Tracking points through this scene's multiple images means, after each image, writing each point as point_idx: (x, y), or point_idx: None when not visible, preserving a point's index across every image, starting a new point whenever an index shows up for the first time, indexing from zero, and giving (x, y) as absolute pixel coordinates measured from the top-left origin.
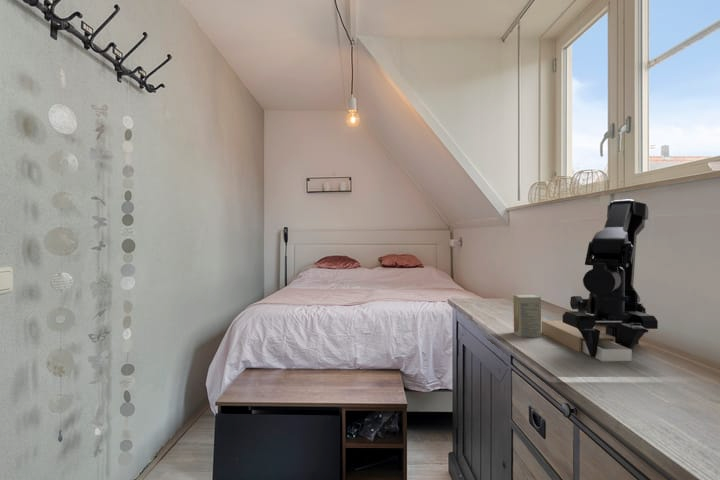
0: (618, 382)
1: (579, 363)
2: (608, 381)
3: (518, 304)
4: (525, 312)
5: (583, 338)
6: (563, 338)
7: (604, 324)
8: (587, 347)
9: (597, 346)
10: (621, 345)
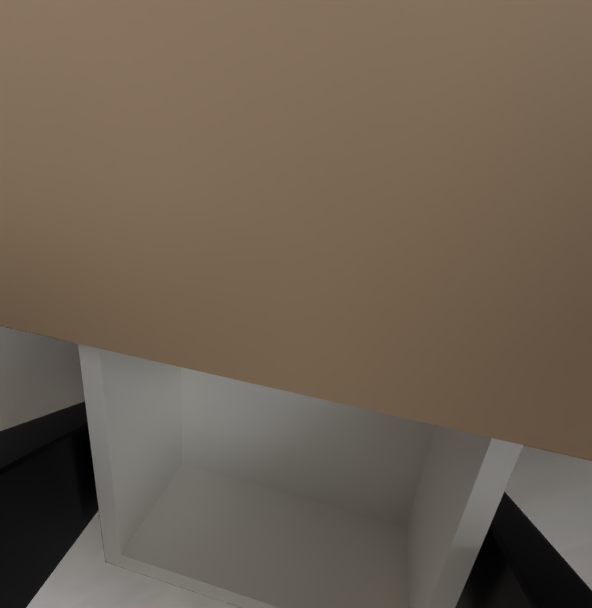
0: (109, 596)
1: (54, 387)
2: (72, 576)
3: None
4: None
5: (32, 326)
6: None
7: None
8: (68, 411)
9: (71, 543)
10: (470, 569)
